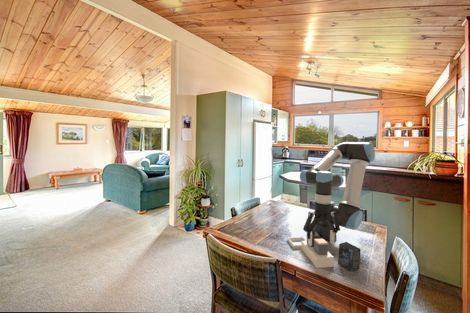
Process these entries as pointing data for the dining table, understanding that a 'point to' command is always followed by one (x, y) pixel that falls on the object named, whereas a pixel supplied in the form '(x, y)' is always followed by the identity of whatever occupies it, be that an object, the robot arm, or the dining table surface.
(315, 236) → the twin plug
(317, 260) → the beige socket block
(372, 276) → the dining table surface
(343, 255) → the box
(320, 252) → the plug
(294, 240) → the tray
